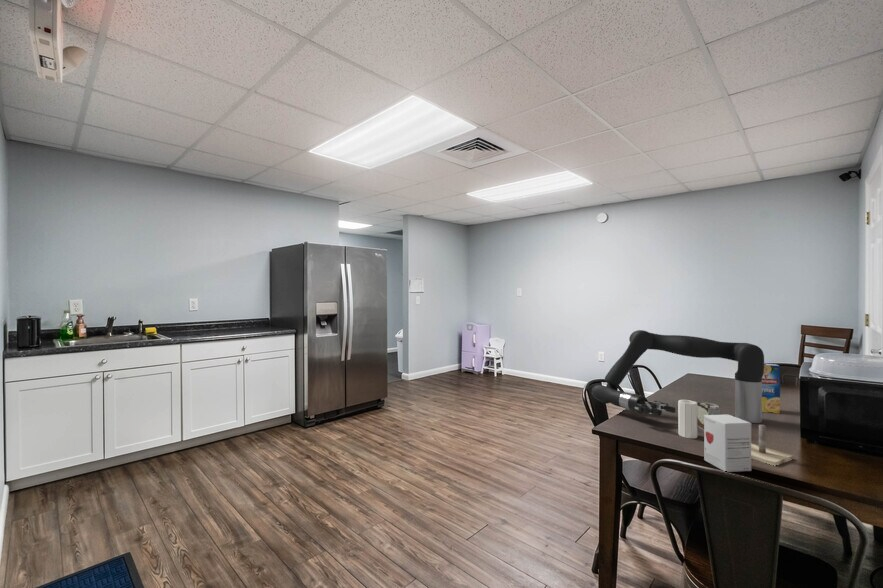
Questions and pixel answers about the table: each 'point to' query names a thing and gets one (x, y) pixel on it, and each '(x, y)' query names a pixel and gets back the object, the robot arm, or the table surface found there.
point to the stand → (767, 451)
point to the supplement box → (727, 442)
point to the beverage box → (771, 388)
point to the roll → (687, 418)
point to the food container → (705, 411)
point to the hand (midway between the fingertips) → (668, 411)
